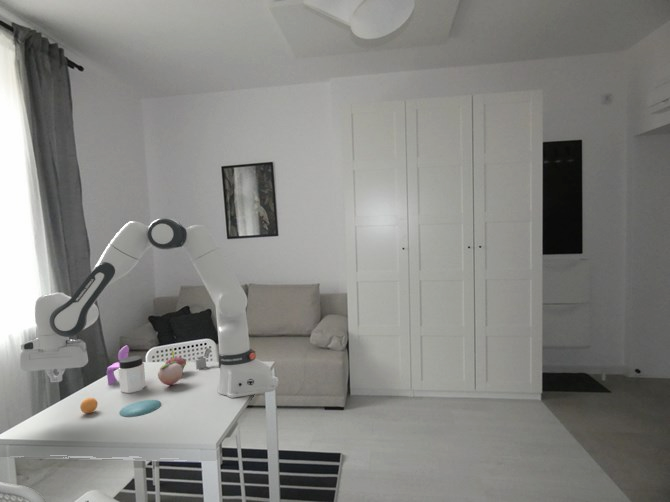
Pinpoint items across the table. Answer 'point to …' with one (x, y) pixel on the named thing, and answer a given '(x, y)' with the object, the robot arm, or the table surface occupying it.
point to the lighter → (202, 359)
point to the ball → (88, 405)
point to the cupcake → (177, 360)
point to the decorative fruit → (170, 373)
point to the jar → (131, 374)
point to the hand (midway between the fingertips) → (56, 381)
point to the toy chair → (116, 364)
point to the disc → (140, 408)
